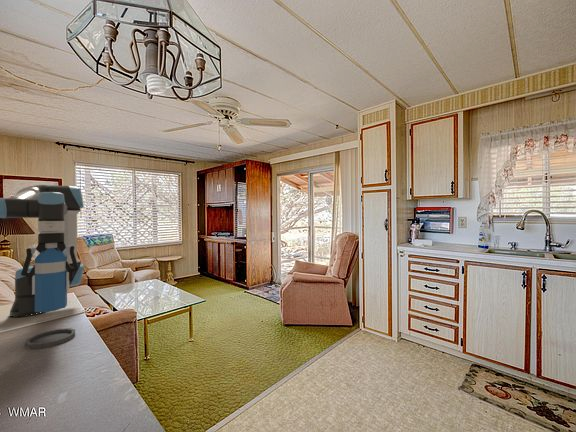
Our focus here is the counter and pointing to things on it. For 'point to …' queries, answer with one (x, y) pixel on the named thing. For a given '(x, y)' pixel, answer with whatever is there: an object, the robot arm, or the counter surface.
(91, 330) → the counter surface
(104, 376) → the counter surface
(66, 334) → the coaster ring
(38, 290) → the water bottle
